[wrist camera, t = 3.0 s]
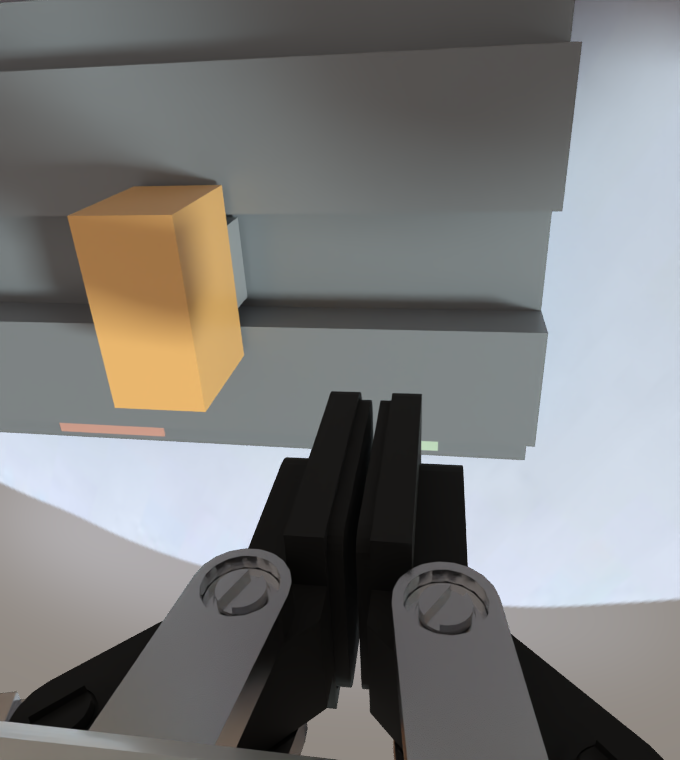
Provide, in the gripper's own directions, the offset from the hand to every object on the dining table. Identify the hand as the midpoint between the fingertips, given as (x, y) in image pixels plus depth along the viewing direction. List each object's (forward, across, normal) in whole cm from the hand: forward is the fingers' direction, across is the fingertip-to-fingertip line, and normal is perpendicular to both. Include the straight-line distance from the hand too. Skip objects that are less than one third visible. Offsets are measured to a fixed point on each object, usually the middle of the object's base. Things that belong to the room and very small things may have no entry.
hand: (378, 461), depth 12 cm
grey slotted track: (+14, +7, 0) cm, 16 cm away
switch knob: (+12, +7, 0) cm, 14 cm away
